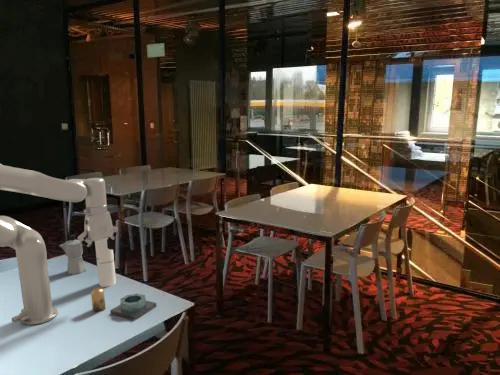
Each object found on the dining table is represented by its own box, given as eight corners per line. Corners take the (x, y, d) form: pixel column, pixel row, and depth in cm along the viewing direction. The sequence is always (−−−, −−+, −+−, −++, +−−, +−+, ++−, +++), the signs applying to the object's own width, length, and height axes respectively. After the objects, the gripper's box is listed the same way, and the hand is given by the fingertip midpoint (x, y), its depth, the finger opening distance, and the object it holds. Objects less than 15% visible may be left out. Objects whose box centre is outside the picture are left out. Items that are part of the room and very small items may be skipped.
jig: (135, 320, 155) (134, 308, 155) (110, 313, 161) (109, 302, 160) (156, 306, 166) (155, 295, 165) (132, 300, 171) (132, 290, 170)
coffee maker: (62, 276, 199) (57, 239, 196) (62, 270, 207) (58, 234, 204) (95, 271, 205) (92, 234, 202) (94, 265, 213) (91, 230, 210)
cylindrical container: (110, 279, 195) (105, 226, 190) (119, 282, 190) (114, 228, 186) (95, 284, 189) (90, 229, 185) (104, 288, 185) (99, 232, 180)
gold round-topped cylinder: (98, 313, 162) (96, 293, 160) (90, 310, 164) (88, 291, 163) (108, 307, 166) (106, 288, 164) (99, 305, 168) (97, 286, 167)
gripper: (82, 215, 156) (85, 260, 159) (121, 207, 170) (124, 248, 173) (70, 213, 161) (74, 256, 164) (109, 204, 174) (112, 245, 177)
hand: (100, 252), depth 168 cm, fingers open, 9 cm apart
